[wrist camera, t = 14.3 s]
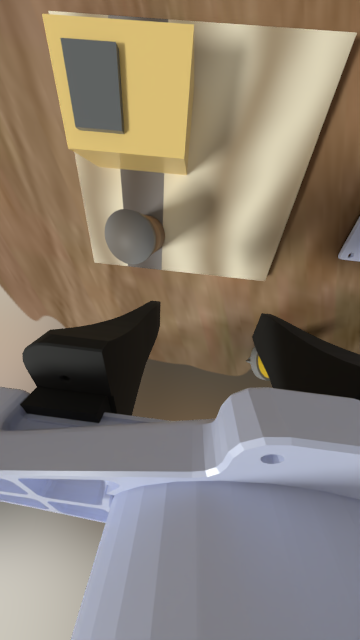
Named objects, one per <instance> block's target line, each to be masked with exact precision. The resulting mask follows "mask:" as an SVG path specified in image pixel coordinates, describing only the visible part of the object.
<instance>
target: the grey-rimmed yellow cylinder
mask: <svg viewBox="0 0 360 640" xmlns="http://www.w3.org/2000/svg"><path fill="white" fill-rule="evenodd" d="M246 361H247V362H248V363H250V364H251V367H252V370H253V372H254V374H255V375H256V376H257V377H258V378H260V379H263V380H267V381H270V379H269V376H268V374H267V372H266V370H265V368H264V366H263V364H262V361H261V359H260V357H259V355H258V353H257V351H256V348H255V347H254V348H253V350H252V353H251V357H250V358H248V360H246Z"/></svg>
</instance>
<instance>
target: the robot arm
mask: <svg viewBox="0 0 360 640" xmlns="http://www.w3.org/2000/svg"><path fill="white" fill-rule="evenodd" d="M350 253H351V255H350V256H349V257H348V255H349V254H350ZM338 258H339V259H342V260H351V261H360V217H359V219H358V221H357V222H356V224H355V226H354V228H353V230H352V231H351V233H350V235H349V237H348V238H347V240H346V242H345V244H344V245H343V247H342V249H341V251H340V253H339V255H338ZM159 327H160V302H158V301H150V302H148V303H146V304H145V305H143V306H141V307H139V308H137V309H135V310H133V311H131V312H129V313H127V314H125V315H122V316H120V317H117V318H114V319H111V320H108V321H104V322H100V323H96V324H92V325H86V326H81V327H74V328H65V329H55V330H49V331H48V332H47V333H45V334H44V335H42V336H41V337H40V338H38V339H37V340H36V341H34V342H33V343H32V344H30V345H29V346H27V347H26V348H25V350H24V352H23V362H24V364H25V367H26V369H27V370H28V372H29V374H30V375H31V377H32V379H33V380H34V382H35V384H36V386H37V388H36V389H35V390H34V391H33V392H32V393H31V394H30V393H28V392H26V391H24V390H20V389H12V388H5V387H0V501H2V502H7V503H13V504H17V505H23V506H28V507H33V508H37V509H42V510H46V511H51V512H56V513H61V514H66V515H70V516H75V517H80V518H84V519H89V520H94V521H98V522H103V523H106V524H105V527H104V530H103V534H102V537H101V540H100V544H99V547H98V551H97V554H96V557H95V561H94V564H93V568H92V571H91V574H90V577H89V580H88V584H87V587H86V591H85V594H84V598H83V600H82V604H81V608H80V610H79V614H78V617H77V620H76V624H75V627H74V631H73V634H72V637H71V640H360V355H359V354H356V353H354V352H351V351H348V350H345V349H343V348H340V347H338V346H335V345H333V344H330V343H328V342H326V341H323V340H321V339H319V338H317V337H315V336H313V335H311V334H309V333H307V332H305V331H303V330H301V329H299V328H297V327H295V326H293V325H292V324H290V323H288V322H286V321H284V320H282V319H280V318H278V317H276V316H274V315H271V314H263V313H262V314H261V317H260V319H259V322H258V324H257V326H256V329H255V331H254V334H253V336H252V337H253V341H254V345H255V348H256V351H257V353H258V355H259V357H260V359H261V361H262V364H263V366H264V368H265V370H266V372H267V374H268V376H269V379H270V381H271V384H272V387H273V388H267V387H264V388H263V387H261V388H246V389H244V390H241V391H239V392H236V393H234V394H232V395H231V396H230V397H229V398H228V399H227V400H226V401H225V402H224V403H223V404H222V405H221V408H220V410H219V413H218V416H217V418H216V419H203V420H186V421H167V420H159V419H152V418H144V417H137V416H132V412H133V408H134V404H135V401H136V397H137V393H138V389H139V385H140V382H141V378H142V374H143V371H144V368H145V365H146V362H147V359H148V357H149V355H150V352H151V350H152V347H153V345H154V343H155V340H156V338H157V335H158V331H159Z"/></svg>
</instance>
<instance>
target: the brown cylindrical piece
mask: <svg viewBox="0 0 360 640" xmlns="http://www.w3.org/2000/svg"><path fill="white" fill-rule="evenodd" d="M105 240H106V243H107V246H108V248H109V249H110V251H111V252H112V254H113V255H114V256H115V257H116V258H117V259H119V260H120V261H122V262H124V263H127V264H139V263H141V262H143V261H145V260H146V259H148V258H149V257H150V256H151V255H152V254H153V253H154V252H156V251H157V250H159V249H160V248H161V247H162V245H163V244H164V241H165V231H164V228H163V226H162V224H161V223H160V221H159V220H158V219H156V218H154V217H152V216H148V215H144V214H141V213H139V212H137V211H133V210H129V209H120V210H117V211H115V212H114V213H112V214H111V215H110V216H109V218H108V219H107V222H106V225H105Z"/></svg>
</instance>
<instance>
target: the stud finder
mask: <svg viewBox="0 0 360 640" xmlns="http://www.w3.org/2000/svg"><path fill="white" fill-rule="evenodd" d="M42 16H43V21H44V26H45V31H46V37H47V42H48V47H49V52H50V57H51V62H52V67H53V72H54V78H55V83H56V88H57V93H58V98H59V103H60V108H61V114H62V119H63V124H64V129H65V134H66V139H67V144H68V148H69V149H70V150H72V151H74V152H75V153H77V154H78V155H80V156H82V157H83V158H85V159H87V160H88V161H90V162H91V163H93V164H95V165H96V166H98V167H105V168H115V169H126V170H136V171H147V172H158V173H168V174H179V175H187V167H188V155H189V142H190V130H191V118H192V106H193V94H194V24H181V23H167V22H152V21H138V20H124V19H110V18H96V17H82V16H68V15H54V14H42Z"/></svg>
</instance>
